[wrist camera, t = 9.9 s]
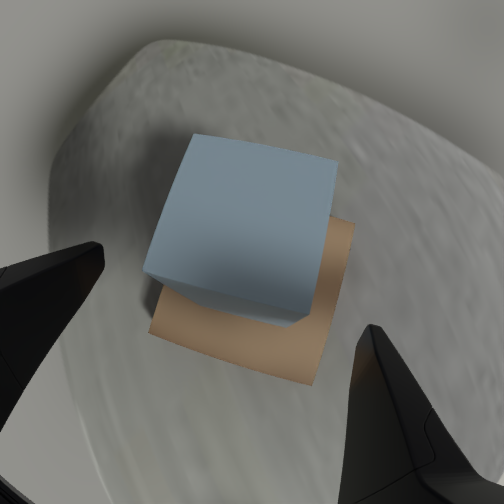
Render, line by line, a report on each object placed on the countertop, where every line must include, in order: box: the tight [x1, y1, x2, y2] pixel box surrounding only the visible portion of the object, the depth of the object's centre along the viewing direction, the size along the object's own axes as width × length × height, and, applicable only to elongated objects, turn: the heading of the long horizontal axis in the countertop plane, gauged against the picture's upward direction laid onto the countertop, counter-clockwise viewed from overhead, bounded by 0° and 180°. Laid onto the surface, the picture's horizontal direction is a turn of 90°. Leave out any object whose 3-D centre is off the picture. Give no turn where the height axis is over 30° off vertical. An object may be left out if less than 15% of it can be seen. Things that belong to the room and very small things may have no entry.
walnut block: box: [148, 216, 355, 386], centre depth 19 cm, size 10×10×3 cm
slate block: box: [142, 134, 338, 328], centre depth 14 cm, size 5×5×9 cm
